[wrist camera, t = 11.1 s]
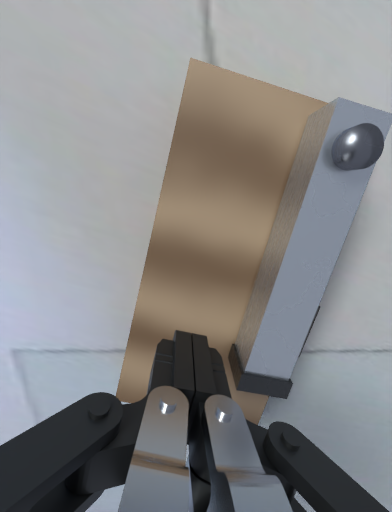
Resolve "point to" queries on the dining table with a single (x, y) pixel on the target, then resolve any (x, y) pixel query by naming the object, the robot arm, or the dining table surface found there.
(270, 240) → the hinged leg
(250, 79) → the wooden board with bar
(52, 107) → the dining table surface
